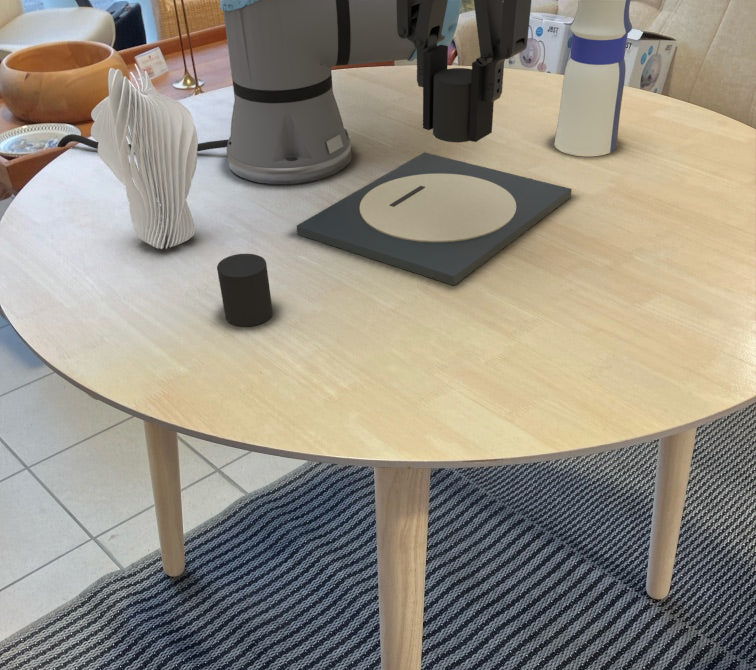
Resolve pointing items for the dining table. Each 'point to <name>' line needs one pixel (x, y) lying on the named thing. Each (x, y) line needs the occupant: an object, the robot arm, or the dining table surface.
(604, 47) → the water bottle
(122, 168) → the white ribbed sculpture
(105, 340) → the dining table surface
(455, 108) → the stamp
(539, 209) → the board
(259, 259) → the stamp
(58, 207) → the dining table surface
